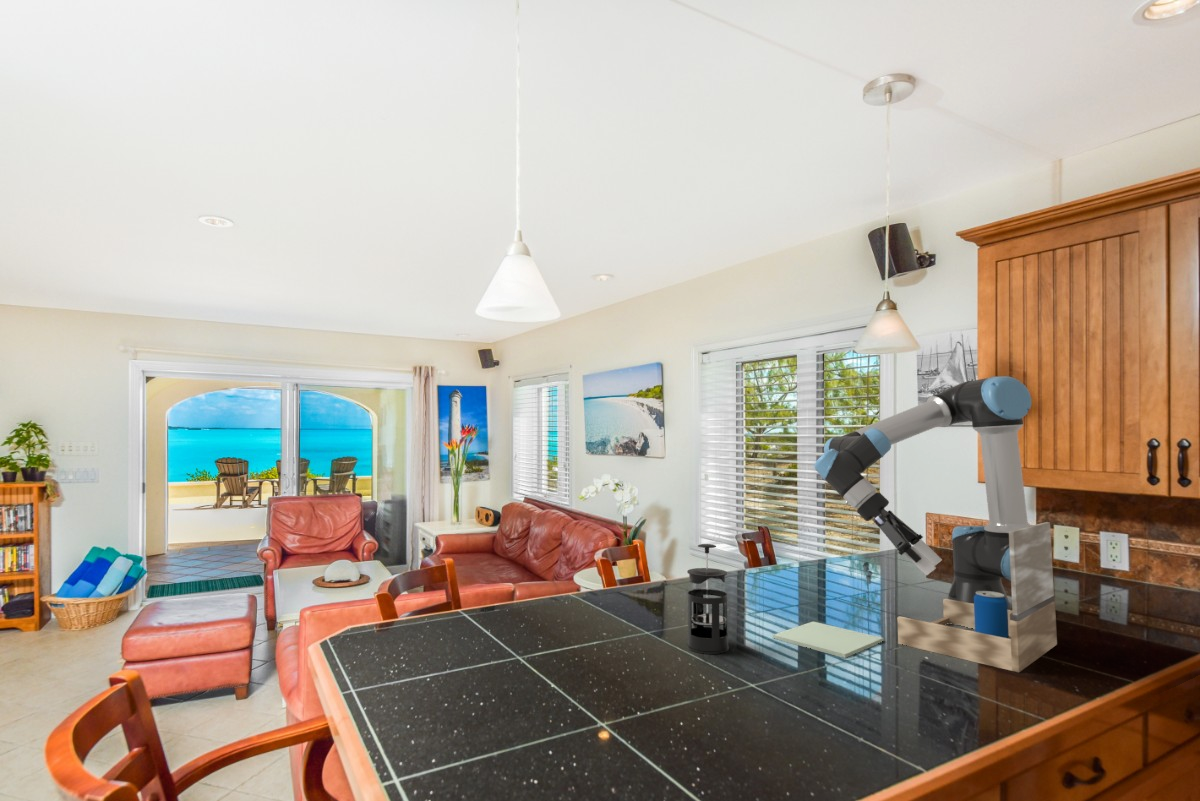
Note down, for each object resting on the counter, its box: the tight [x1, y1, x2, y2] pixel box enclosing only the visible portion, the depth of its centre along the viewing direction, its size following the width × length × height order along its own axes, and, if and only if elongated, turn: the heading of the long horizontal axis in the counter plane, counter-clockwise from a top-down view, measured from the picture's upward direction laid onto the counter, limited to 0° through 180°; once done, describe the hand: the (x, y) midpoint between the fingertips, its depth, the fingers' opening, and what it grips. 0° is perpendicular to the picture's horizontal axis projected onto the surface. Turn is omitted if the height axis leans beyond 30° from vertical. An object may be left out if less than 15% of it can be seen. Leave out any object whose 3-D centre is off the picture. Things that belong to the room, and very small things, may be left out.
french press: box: [686, 543, 730, 655], centre depth 141 cm, size 12×9×23 cm
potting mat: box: [772, 621, 884, 659], centre depth 145 cm, size 18×18×1 cm
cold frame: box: [896, 521, 1058, 673], centre depth 144 cm, size 24×28×28 cm
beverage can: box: [974, 591, 1010, 639], centre depth 141 cm, size 6×6×12 cm
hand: (934, 567), depth 148 cm, fingers open, 13 cm apart
